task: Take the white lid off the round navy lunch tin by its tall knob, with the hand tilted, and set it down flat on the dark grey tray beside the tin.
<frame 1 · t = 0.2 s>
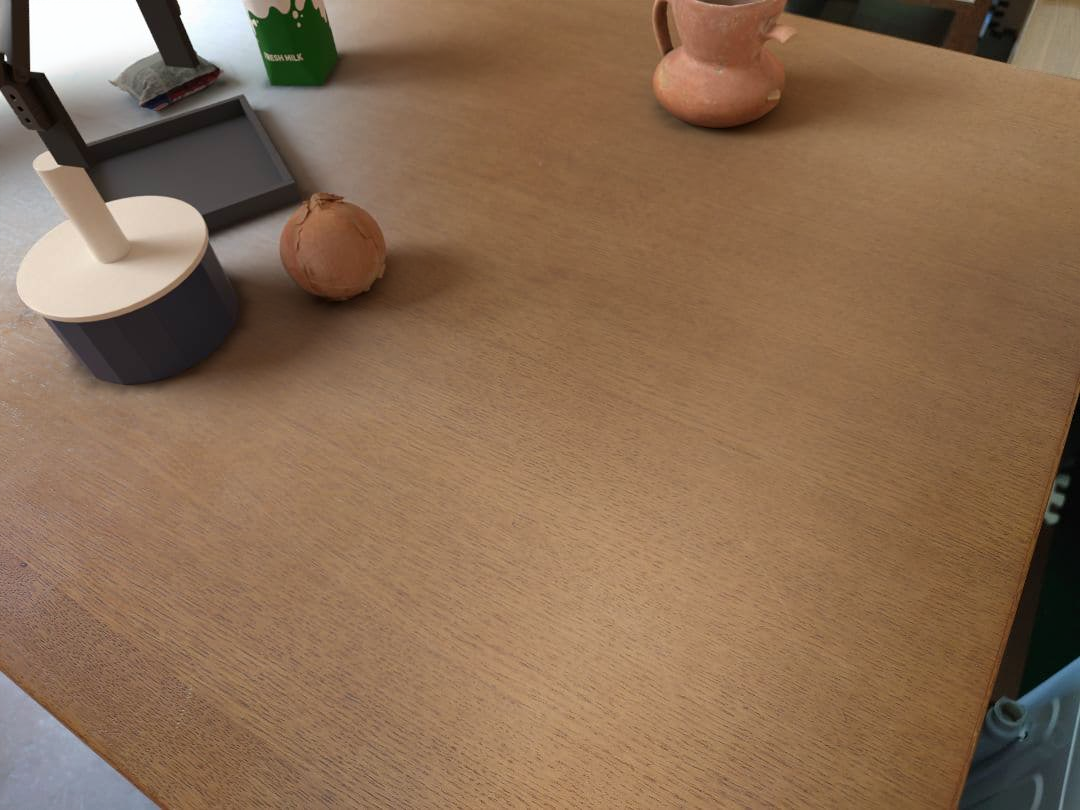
hand: (134, 111, 58), 20 cm above the table, tool pointing down, fingers open, 13 cm apart
ceramic jug: (711, 106, 90), on the table
milk carton: (306, 75, 101), on the table
tin lid: (116, 257, 66), point 8 cm above the table, touching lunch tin
packaged food: (175, 94, 101), on the table
tray: (186, 185, 87), on the table
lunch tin: (161, 327, 73), on the table
onion: (346, 286, 75), on the table
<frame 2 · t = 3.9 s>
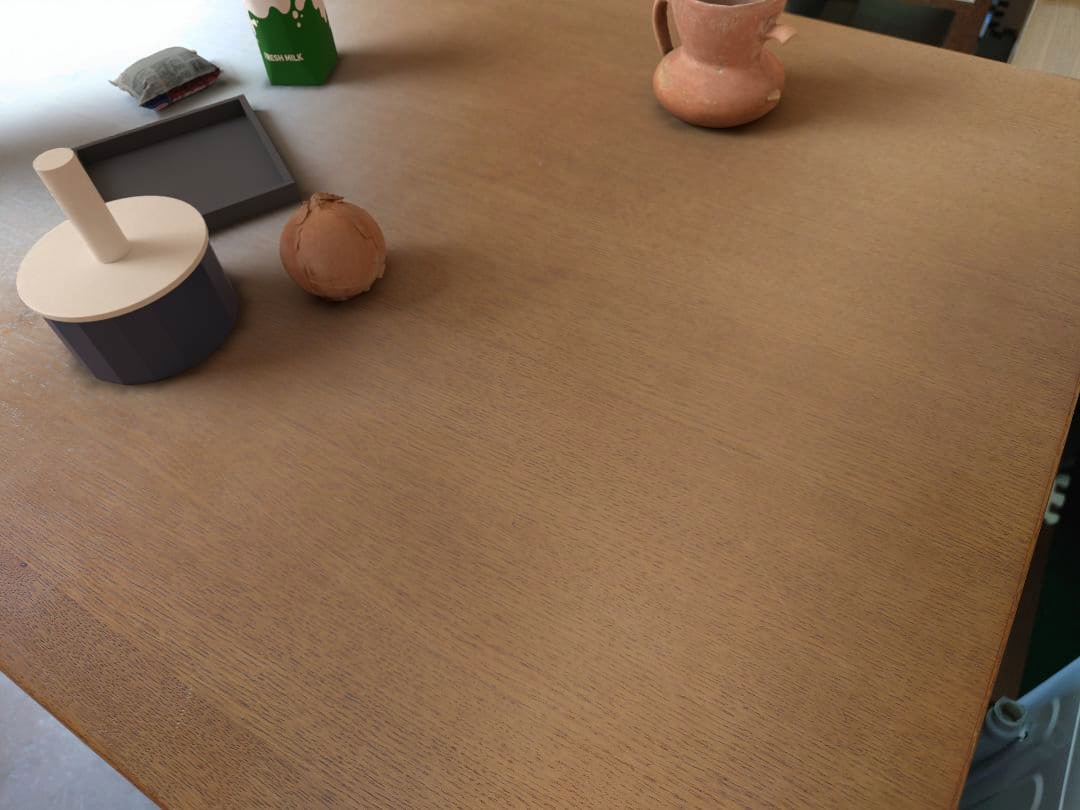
nothing on the table moved.
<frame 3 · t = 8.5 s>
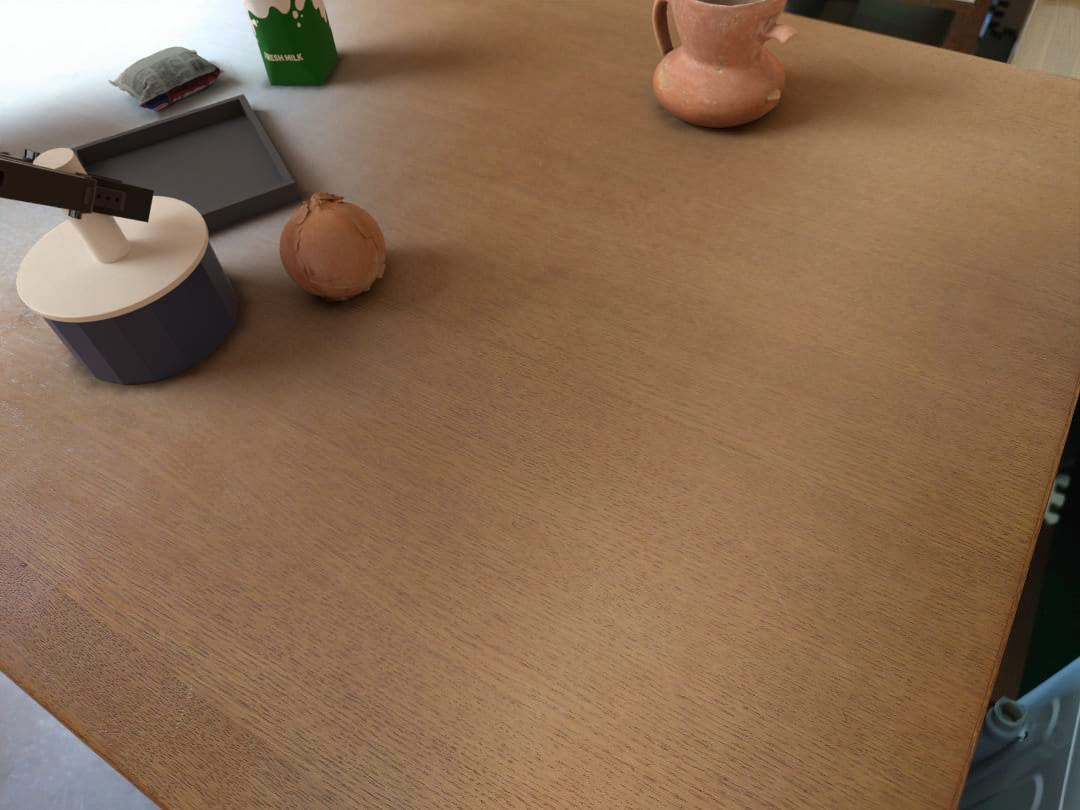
hand: (131, 200, 66), 12 cm above the table, tool tilted 45°, fingers closed on tin lid, 3 cm apart
tin lid: (116, 257, 66), point 8 cm above the table, touching gripper, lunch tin
everything else where it was.
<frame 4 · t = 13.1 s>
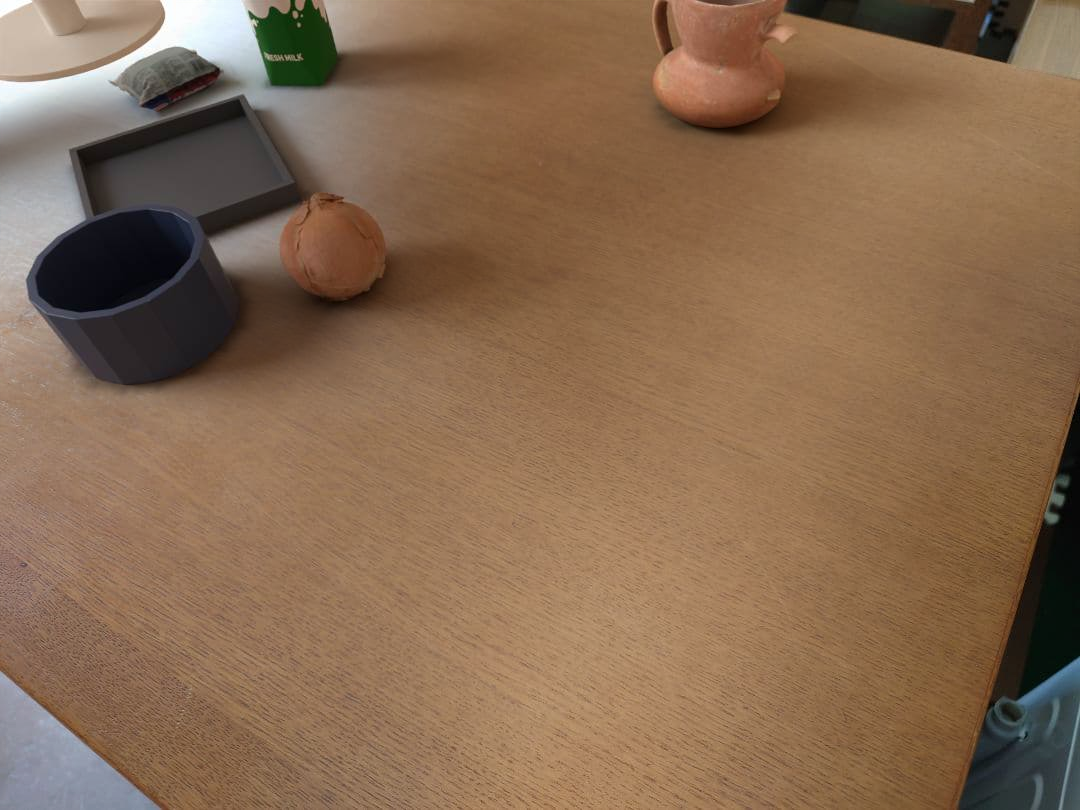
tin lid: (71, 34, 66), point 21 cm above the table, touching gripper
everything else where it was.
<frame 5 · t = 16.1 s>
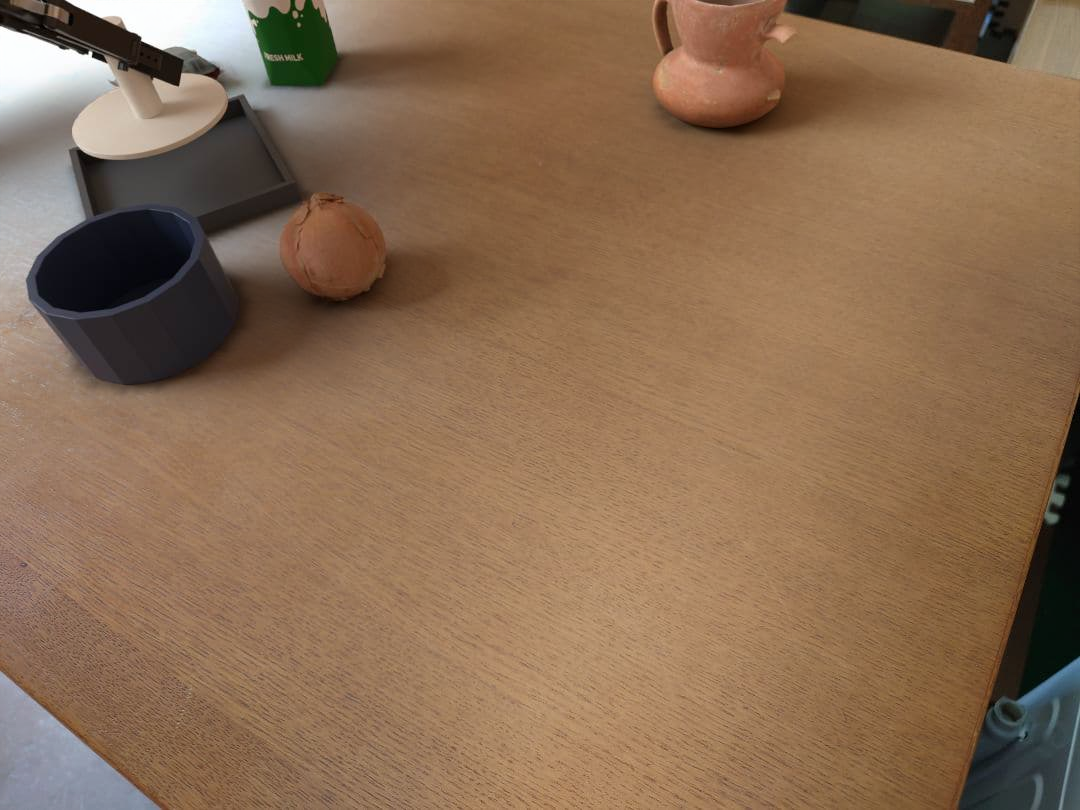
hand: (165, 69, 80), 12 cm above the table, tool tilted 45°, fingers closed on tin lid, 3 cm apart
tin lid: (152, 116, 80), point 8 cm above the table, touching gripper
everything else where it was.
when the fingers open (4 cm above the table, at t = 18.0 s): tin lid stays where it is, resting on tray.
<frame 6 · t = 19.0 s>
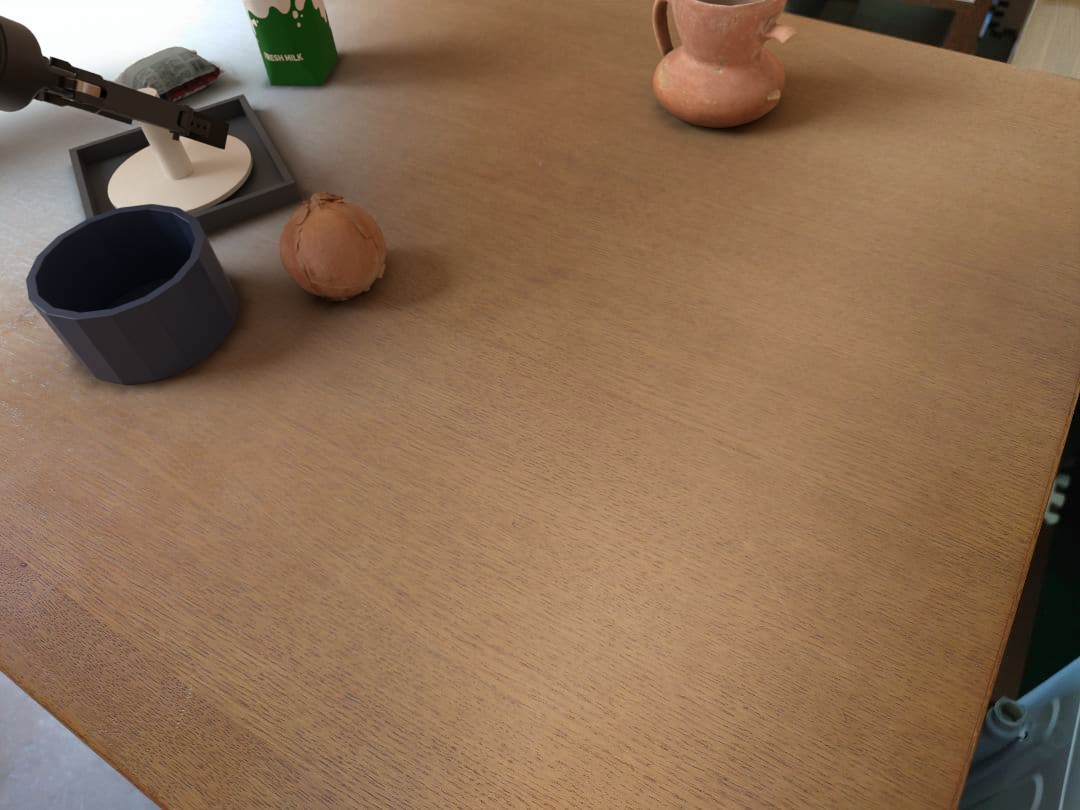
hand: (177, 124, 83), 6 cm above the table, tool tilted 45°, fingers open, 13 cm apart
tin lid: (182, 176, 86), point 1 cm above the table, touching tray
everything else where it was.
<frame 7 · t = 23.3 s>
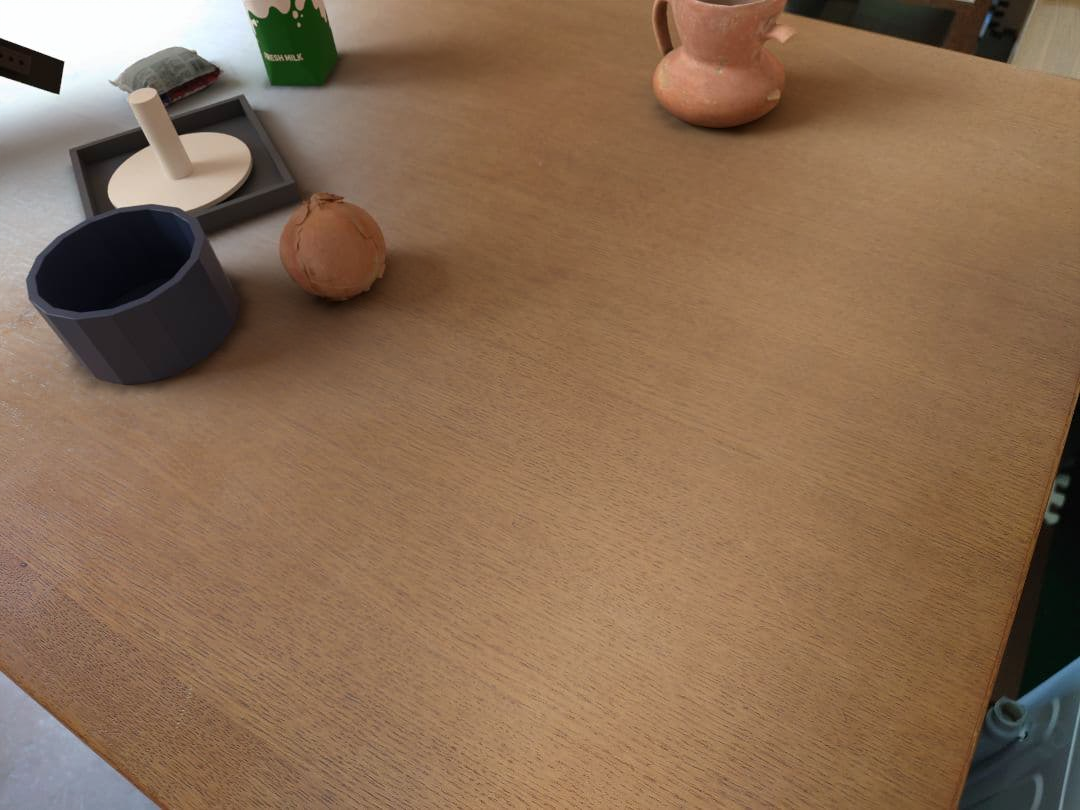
hand: (4, 63, 66), 19 cm above the table, tool tilted 45°, fingers open, 13 cm apart
nothing on the table moved.
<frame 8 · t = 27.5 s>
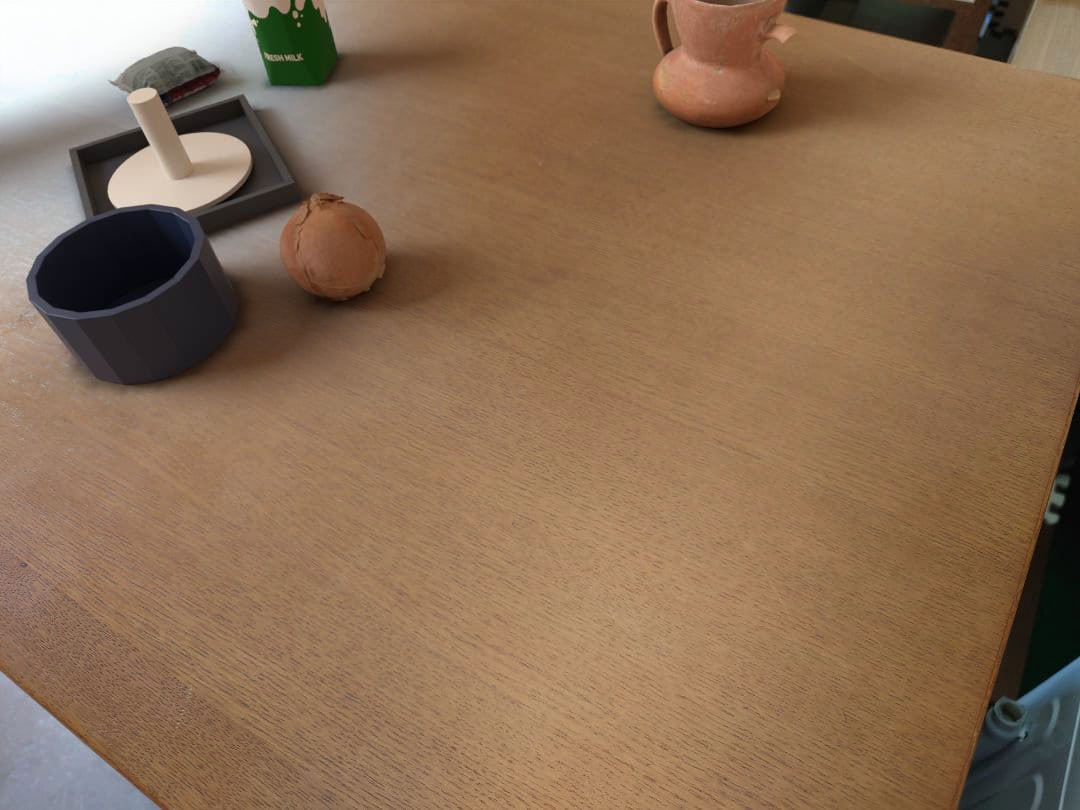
nothing on the table moved.
at the end: tin lid inside the target area in the tray (0.1 cm from its centre), point 1.2 cm above the tray's base; tin lid tilted 0°; the gripper is holding nothing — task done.
